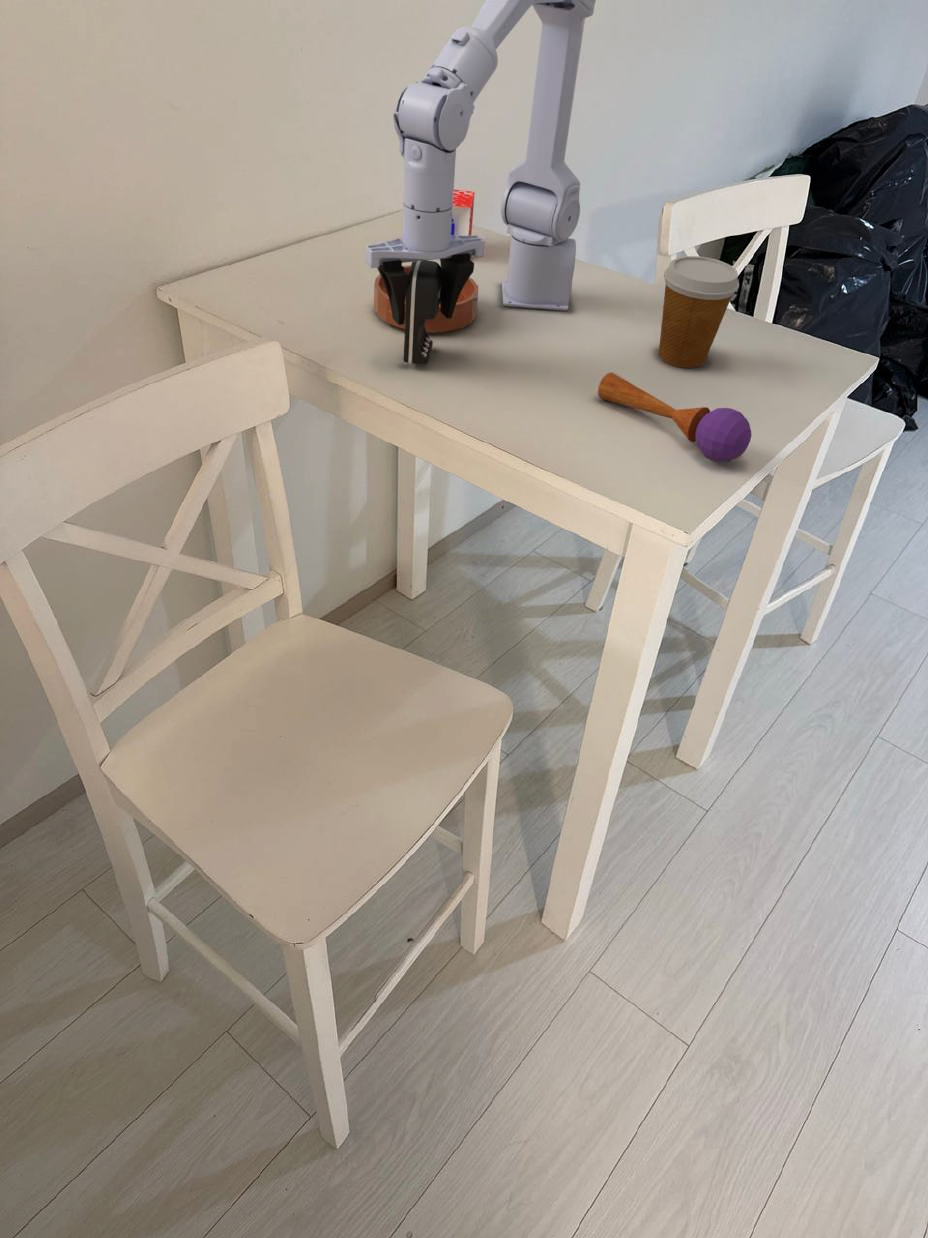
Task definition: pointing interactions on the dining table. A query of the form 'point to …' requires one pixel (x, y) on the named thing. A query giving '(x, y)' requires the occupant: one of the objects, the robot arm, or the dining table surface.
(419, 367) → the dining table surface
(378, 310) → the bowl
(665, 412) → the kendama
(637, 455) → the dining table surface
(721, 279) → the disposable coffee cup
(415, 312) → the battery charger
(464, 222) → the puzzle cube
